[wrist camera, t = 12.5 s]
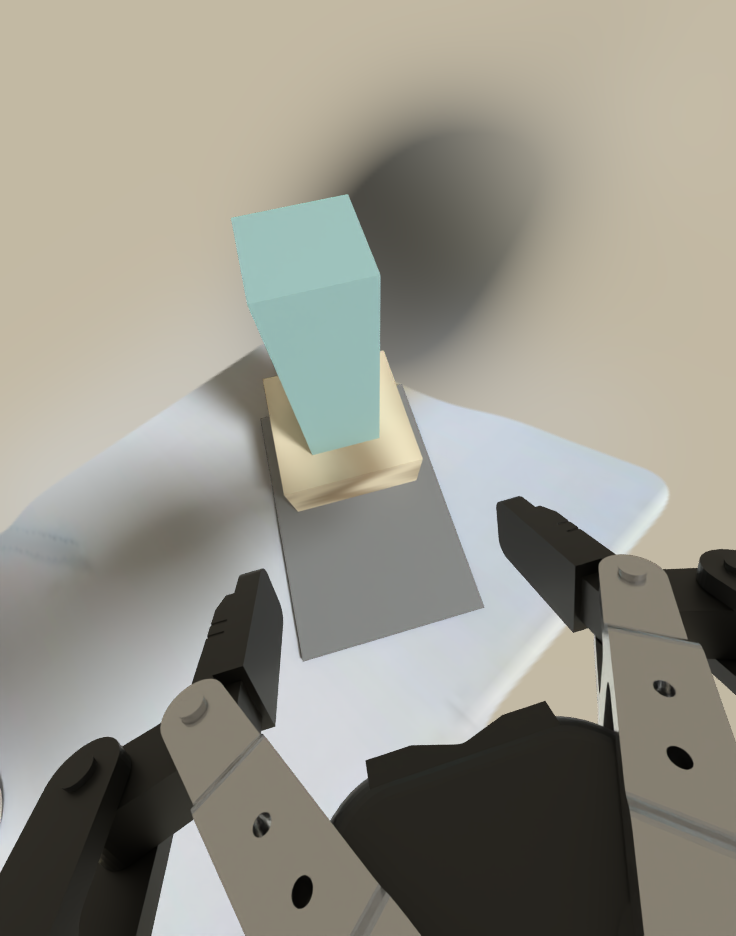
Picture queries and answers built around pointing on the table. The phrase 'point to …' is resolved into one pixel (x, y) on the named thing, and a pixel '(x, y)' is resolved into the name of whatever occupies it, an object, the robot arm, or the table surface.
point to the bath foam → (0, 805)
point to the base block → (343, 451)
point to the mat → (372, 559)
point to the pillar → (317, 315)
